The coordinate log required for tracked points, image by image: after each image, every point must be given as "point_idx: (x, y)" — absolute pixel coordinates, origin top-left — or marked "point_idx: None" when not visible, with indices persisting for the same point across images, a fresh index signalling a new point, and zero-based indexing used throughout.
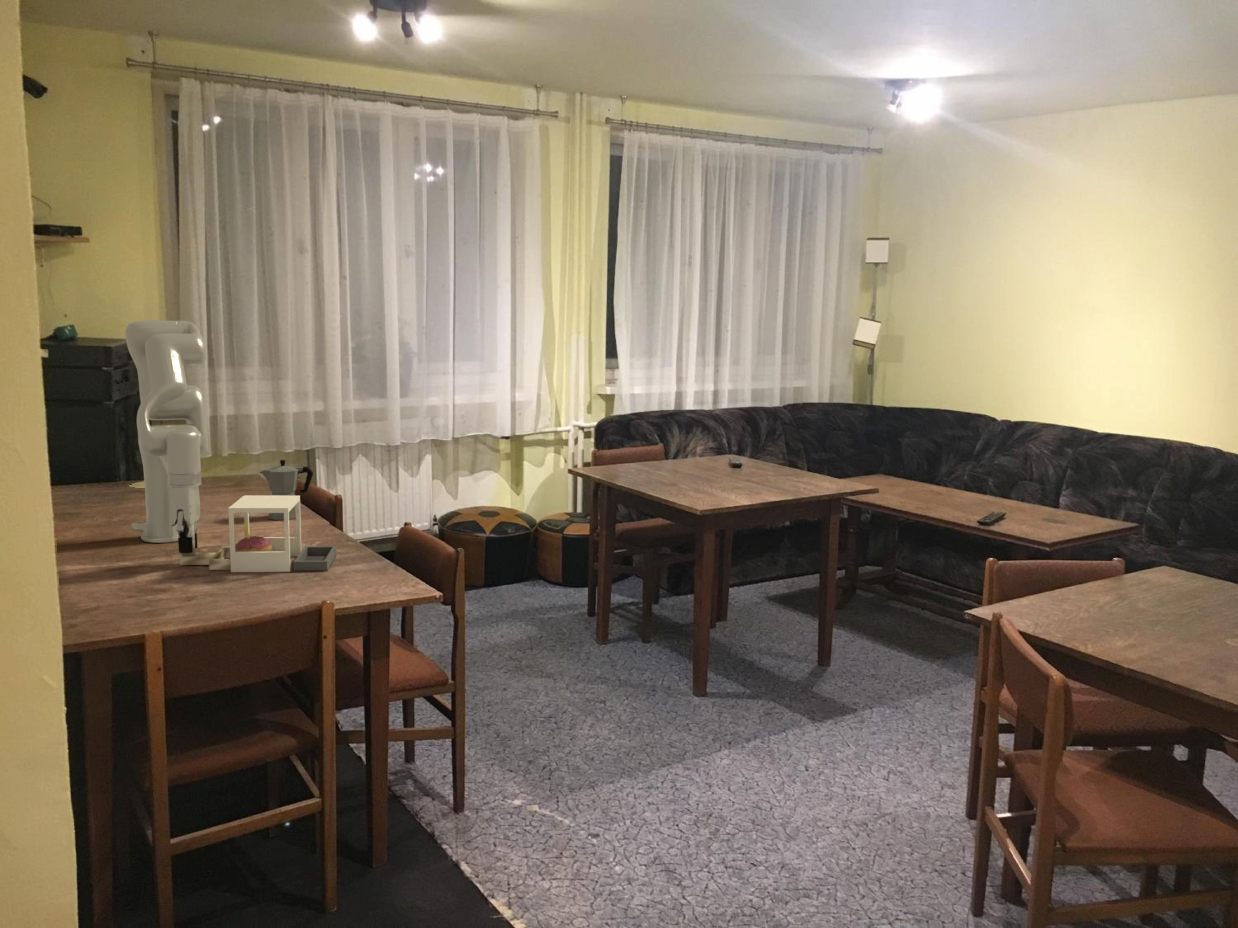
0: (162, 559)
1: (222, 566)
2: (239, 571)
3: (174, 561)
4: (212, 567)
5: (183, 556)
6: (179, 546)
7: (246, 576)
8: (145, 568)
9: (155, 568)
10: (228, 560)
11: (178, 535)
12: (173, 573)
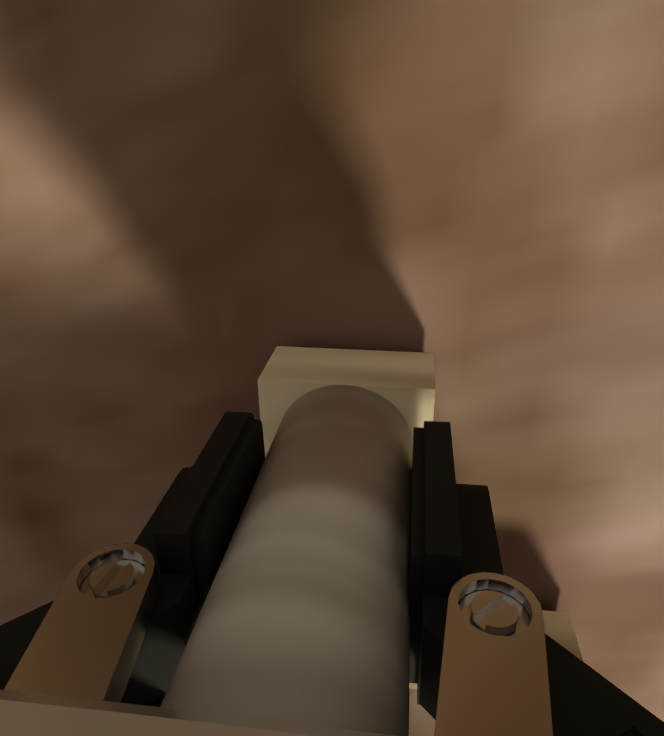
0: (592, 71)
1: None
2: None
3: (475, 240)
4: None
5: (285, 412)
6: (202, 459)
7: None
8: (196, 4)
9: (204, 125)
10: None
11: (69, 585)
12: (67, 342)
